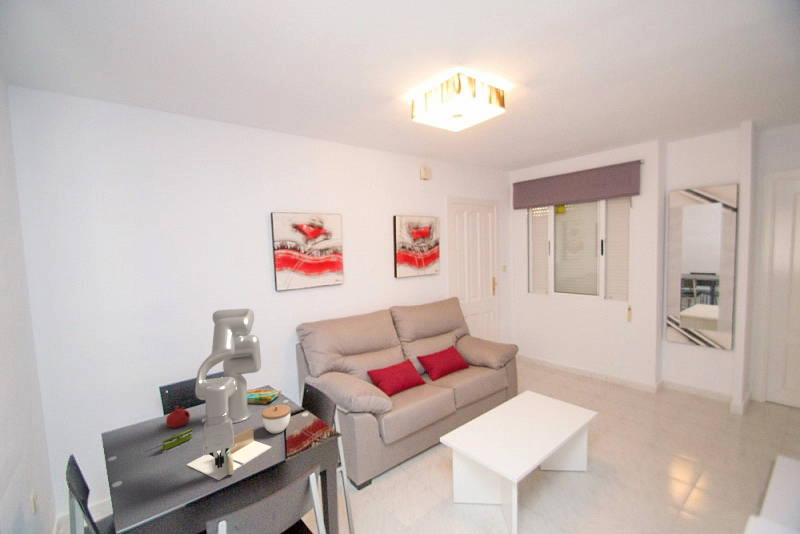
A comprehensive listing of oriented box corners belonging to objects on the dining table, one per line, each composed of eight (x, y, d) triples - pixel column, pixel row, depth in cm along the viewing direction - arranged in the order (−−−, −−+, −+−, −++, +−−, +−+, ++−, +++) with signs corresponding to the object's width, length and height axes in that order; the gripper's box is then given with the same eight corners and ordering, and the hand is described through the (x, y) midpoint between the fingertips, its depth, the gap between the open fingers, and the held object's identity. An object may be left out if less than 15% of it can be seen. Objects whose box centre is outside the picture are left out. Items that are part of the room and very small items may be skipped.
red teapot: (170, 432, 164) (168, 413, 163) (163, 425, 171) (162, 407, 170) (193, 424, 172) (192, 405, 171) (186, 417, 178) (184, 400, 177)
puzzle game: (248, 388, 205) (281, 388, 203) (249, 396, 205) (281, 396, 203) (237, 396, 194) (271, 397, 191) (237, 404, 194) (271, 405, 191)
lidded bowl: (295, 423, 169) (294, 401, 169) (284, 437, 157) (283, 412, 156) (270, 422, 171) (269, 400, 170) (257, 436, 158) (256, 412, 158)
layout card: (186, 465, 137) (186, 464, 137) (240, 436, 158) (240, 435, 158) (218, 480, 127) (218, 478, 127) (271, 447, 148) (271, 446, 148)
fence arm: (229, 475, 129) (228, 458, 129) (223, 458, 140) (222, 443, 140) (234, 473, 130) (233, 456, 130) (227, 457, 141) (226, 441, 140)
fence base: (221, 457, 141) (220, 439, 141) (251, 440, 154) (250, 423, 153) (224, 458, 140) (223, 440, 140) (254, 441, 153) (253, 424, 152)
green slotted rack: (197, 430, 154) (186, 420, 160) (148, 451, 139) (137, 439, 144) (196, 444, 155) (185, 434, 161) (147, 467, 140) (137, 454, 145)
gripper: (194, 427, 124) (196, 478, 124) (240, 416, 132) (242, 464, 132) (194, 419, 130) (196, 467, 131) (238, 409, 138) (240, 455, 139)
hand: (219, 465), depth 131 cm, fingers closed
